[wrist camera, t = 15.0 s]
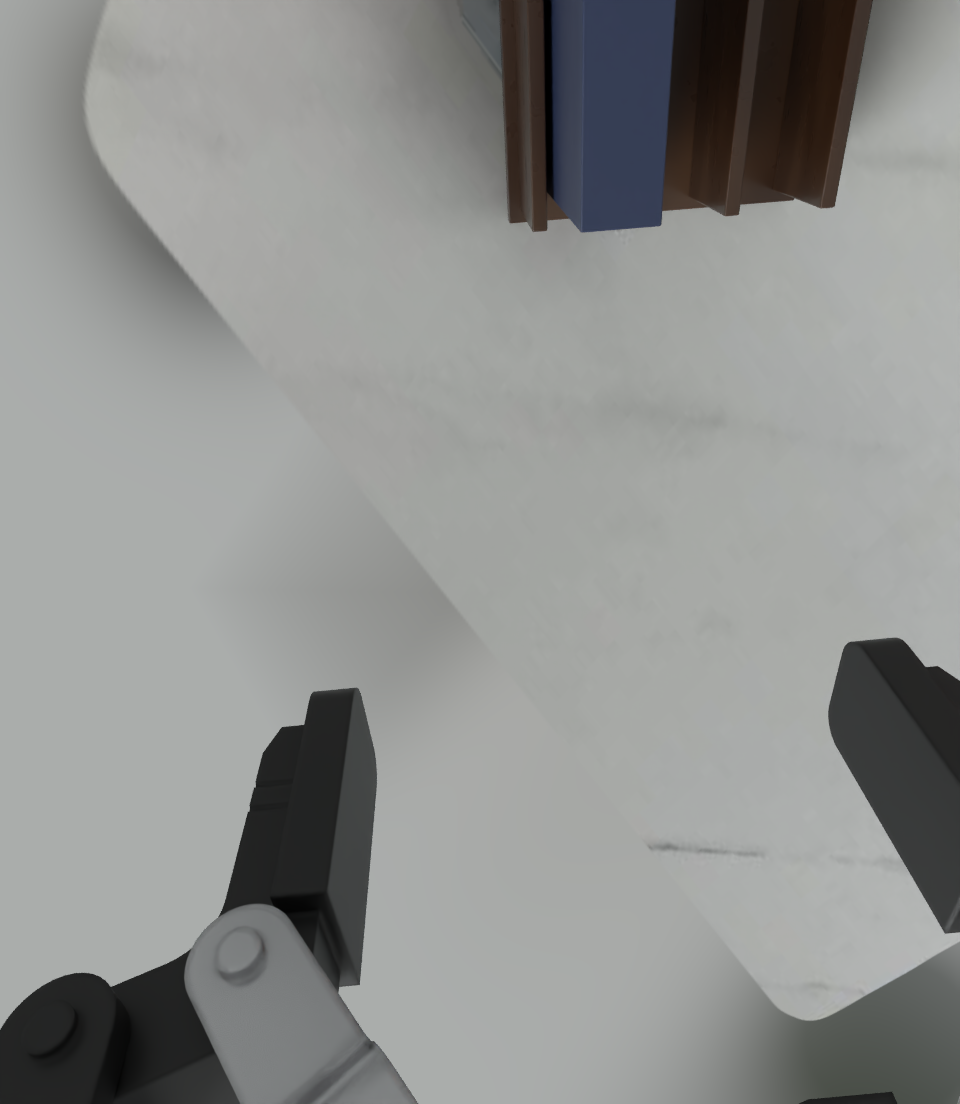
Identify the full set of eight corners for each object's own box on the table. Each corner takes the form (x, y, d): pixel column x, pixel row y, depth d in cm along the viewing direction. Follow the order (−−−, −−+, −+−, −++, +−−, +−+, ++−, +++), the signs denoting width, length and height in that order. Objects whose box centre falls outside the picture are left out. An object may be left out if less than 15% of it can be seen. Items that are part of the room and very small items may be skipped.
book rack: (508, 220, 34) (520, 246, 29) (493, -128, 27) (506, -167, 23) (787, 197, 34) (845, 220, 29) (840, -155, 28) (926, -200, 23)
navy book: (539, 184, 33) (580, 232, 24) (534, -82, 28) (584, -151, 19) (597, 179, 33) (661, 226, 24) (603, -87, 28) (687, -159, 19)
